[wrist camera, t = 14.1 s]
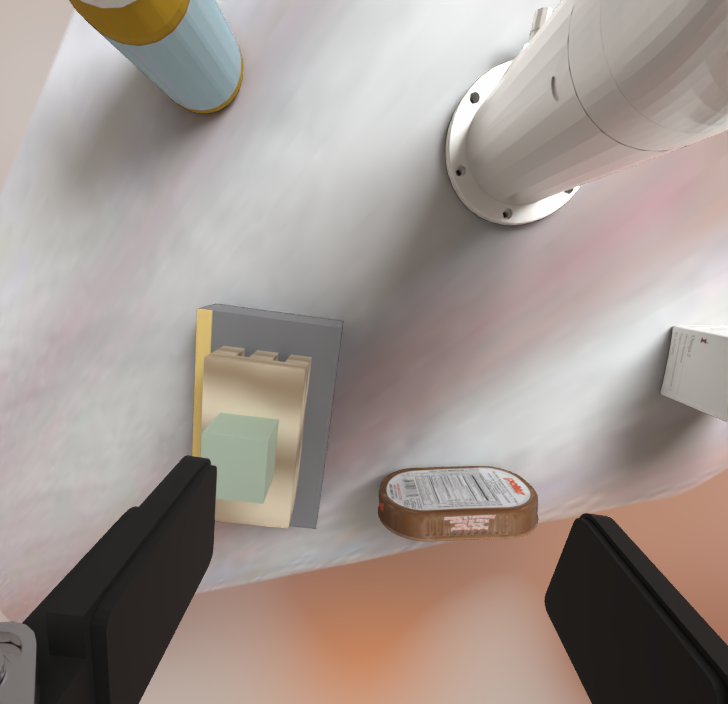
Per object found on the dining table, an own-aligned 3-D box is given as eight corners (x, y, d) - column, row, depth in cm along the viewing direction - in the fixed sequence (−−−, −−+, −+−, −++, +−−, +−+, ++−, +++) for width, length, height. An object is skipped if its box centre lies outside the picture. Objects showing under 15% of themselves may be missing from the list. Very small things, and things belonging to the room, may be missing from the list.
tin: (375, 489, 38) (381, 550, 30) (375, 463, 38) (380, 518, 29) (513, 484, 39) (556, 543, 30) (515, 458, 38) (560, 511, 30)
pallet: (223, 345, 30) (204, 357, 26) (311, 357, 30) (305, 370, 27) (216, 490, 33) (197, 519, 29) (296, 498, 34) (288, 528, 30)
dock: (216, 303, 33) (197, 308, 29) (343, 321, 34) (341, 328, 30) (207, 490, 38) (190, 516, 34) (319, 502, 38) (315, 529, 34)
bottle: (244, 121, 30) (137, -19, 15) (159, 111, 29) (-33, -43, 15) (247, 24, 28) (130, -238, 14) (157, 11, 28) (-61, -271, 13)
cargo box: (220, 412, 27) (201, 432, 24) (278, 419, 27) (268, 440, 24) (217, 470, 28) (199, 497, 25) (273, 476, 29) (263, 503, 25)
